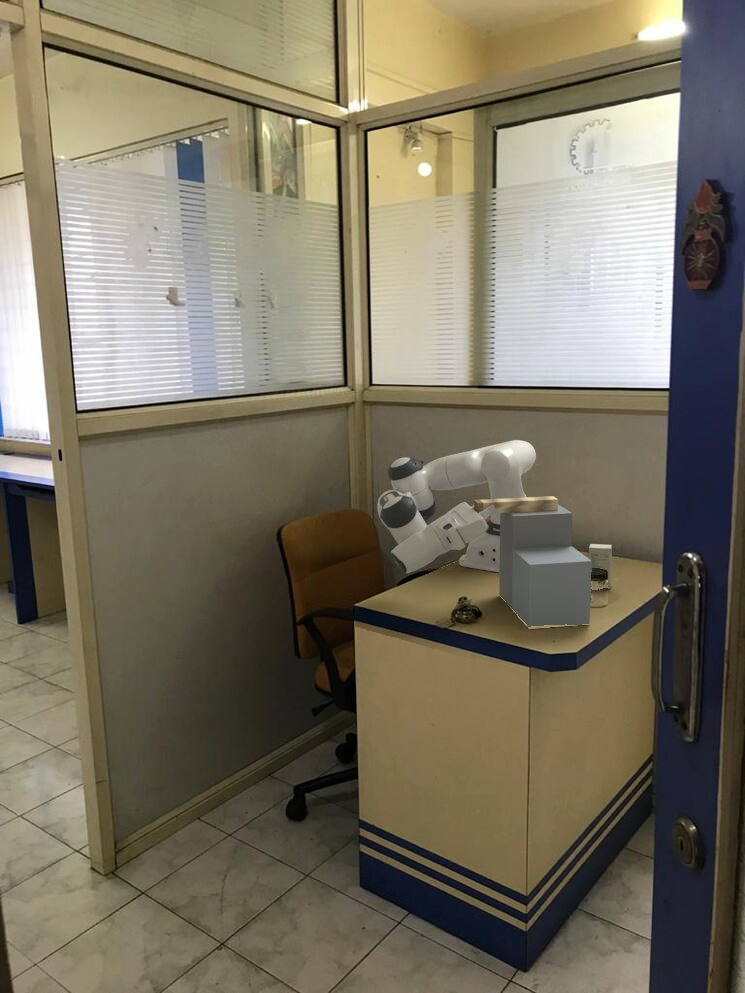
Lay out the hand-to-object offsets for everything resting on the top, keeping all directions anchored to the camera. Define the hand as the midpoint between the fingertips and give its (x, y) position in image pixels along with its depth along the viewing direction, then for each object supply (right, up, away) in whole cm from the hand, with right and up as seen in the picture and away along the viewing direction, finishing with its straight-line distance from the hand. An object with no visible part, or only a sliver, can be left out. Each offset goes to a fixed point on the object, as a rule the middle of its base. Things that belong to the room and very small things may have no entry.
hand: (491, 504), depth 219 cm
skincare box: (+34, -24, +19) cm, 46 cm away
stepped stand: (+14, -28, +1) cm, 31 cm away
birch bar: (+7, -2, +1) cm, 7 cm away
